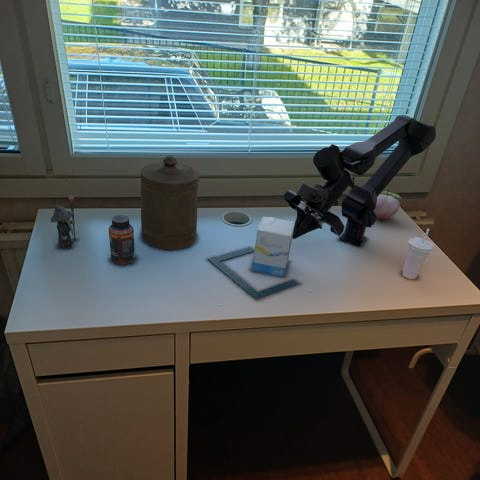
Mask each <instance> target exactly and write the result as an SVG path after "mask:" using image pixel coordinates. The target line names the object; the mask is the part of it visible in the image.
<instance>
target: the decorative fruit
mask: <svg viewBox="0 0 480 480" xmlns="http://www.w3.org/2000/svg"><path fill="white" fill-rule="evenodd" d="M400 201H403V199H402V197H401V196H400V195H399V194H398V193H395V192H390V189H388V190H387V191H385V190H383V191H382V192H381V193H380V194H379V196H378V197H377V203H376V208H375V209H374V213H375V215H376V216H377V219H378V220H387V219H389V218H392V217H393V216H395V215H396V214H397V213H398V211H399V209H400Z"/></svg>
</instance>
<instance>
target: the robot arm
mask: <svg viewBox="0 0 480 480" xmlns="http://www.w3.org/2000/svg"><path fill="white" fill-rule="evenodd" d="M436 137H437V132H436V128H435V126H433V125H431V124H428V123H425V122H422V121H419V120H417V119H415V118H414V117H411V116H409V115H405V114H398V115H397V116H396V117H395V118H394V120H393V121H392V122H390V123H389V124H387V125H385V126H384V127H383V128H382V129H380V130H379V131H377V132H376V133H375V134H373V135H372V136H371V137H369V138H368V139H366V140H363V141H355V142H354V143H352V144H349V145H347V146H346V147H345V148H344V149H342V150H341V149H340V147H339V146H338V145H336V144H334V143H331V144H330V145H329V146H327V147H326V146H325V147H323V148H321V149H320V150H317V151H316V152H315V153H314V155H313V157H312V163H313V165H314V166H315V168H316V170H317V172H318V173H319V175H320V177H321V178H322V179H323V182H322V183H321V184H319V183H317V184H315V185H314V186H312V185H309V184H307V183H305V182H303V181H301V183H300V185H299V187H298V188H297V190H296V191H294V190H293V189H288V190H286V191H285V192H284V193H283V195H282V196H281V197H282V198H283V199H284V201H285V202H286V204H287V205H288V206H289V207H290V208H291V209H292V210H294V211H296V217H295V221H294V222H295V226H294V231H293V237H292V240H296V239H298V238H300V237H301V236H304V235H306V234H308V233H310V232H314V231H315V230H318V229H319V230H322V229H323V225H324V224H326V225H328V226H329V227H330V229H329V230H330V232H331V233H332V234H335V235H336V236H337V237H339V238H338V239H339V241H341V242H344V243H347V244H351V245H354V246H357V247H361V246H363V245H362V244H364V242H365V241H366V239H367V236H366V235H365V233H366V229H367V228H372V226H374V225H375V224H376V222H377V219H378V218H377V216H376V215H375V213H374V209H375V208H376V203H377V197H378V196H379V194H380V193H381V192H382V191H385V188H387V187H388V185H389V184H390V183H391V181H393V179H394V178H395V177H396V175H397V174H398V173H399V172H400V171H401V169H402V168H403V167H404V166H405V165H406V164H407V162H408V161H409V160H410V159H411V158H412V157H414V156H416V155H419V154H421V153H423V152H424V151H425V150H427V148H429V147H430V146H431V145H432V144H433V142H434V141H435V139H436ZM396 143H397V145H396V146H395V148H394V149H393V150H392V151H391V153H390V154H389V155H388V156H387V157H386V158H385V159H384V161H383V162H382V163H381V164H380V165H379V167H378V168H377V169H376V170H375V172H373V174H372V175H371V176H370V178H369V179H368V180H367V181H366V182H365V183H364V184H363V185H360V186H359V185H357V184H355V179H356V178H355V176H353V175H351V174H350V173H352V174H356V175H357V176H363V175H365V174H366V173H367V172H368V171H369V170H370V169H371V168H372V167H373V166H374V165H375V162H376V159H377V158H378V157H379V156H380V155H381V154H383V153H384V152H386V151H387V150H388V149H390V148H391V147H393V146H394V145H395V144H396ZM348 187H349V188H351V189H350V190H349V191H348V192H347V193H345V191H346V190H347V189H348ZM344 193H345V196H344V198H343V199H342V201H341V217H344V218H346V219H347V220H346V224H344V222H343V221H342V219H341V218H340V216H338V215H336V213H333V212H332V211H330V210H331V209H332V207H333V206H335V207H337V206H338V205H339V201H338V200H339V198H340V197H342V195H343V194H344Z"/></svg>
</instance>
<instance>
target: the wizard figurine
mask: <svg viewBox="0 0 480 480" xmlns="http://www.w3.org/2000/svg"><path fill="white" fill-rule="evenodd" d="M68 200H69V201H70V203H69V205H70V210H67V209H66V208H65V207H64V206H61V205H54V206H52V208H53V209H54V211H53V215H52V216H51V218H50V220H49V221H50V222H51V223H56V230H57V240H58V241H57V242H58V247H59V248H63V249H67V250H68V249H71V248H72V245H73V240H72V237H71V235H72V236H73V237H74V238H73V239H74V240H76V227H75V224H76V220H75V211H74V200H75V197H74V196H73V195H72V194H70V195H69V196H68ZM70 232H71V234H70Z"/></svg>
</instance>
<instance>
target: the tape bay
mask: <svg viewBox="0 0 480 480" xmlns="http://www.w3.org/2000/svg"><path fill="white" fill-rule="evenodd" d="M250 253H254V250H253V249H252V248H250V247H247V248H243V249H240V250H236V251H232V252H230V253H226V254H222V255H219V256H216V257H212V258H209V259H207V260H208V261H209V262H210V263H211V264H212V265H214V267H216V268H217V269H218V270H219V271H221V272H222V273H223V274H224V275H225V276H227V277H228V278H229V279H231V280H232V281H233V282H234V283H235V284H236V285H238V286H239V287H240V288H241V289H242V290H244V291H245V292H246V293H247V294H248V295H250V296H251V298H253V299H255V300H259V299H261V298H264V297H267V296H271V295H273V294H275V293H278V292H280V291H283V290H286V289H289V288H292V287H294V286H297V285H299V283H298V282H297V281H296V280H295V279H291V280H288V281H286V282H285V281H284V282H282V283H279V284H277V285H274V286H270V287H268V288H265V289H263V290H260V291H257V290H255V289H254V288H253V287H252V286H251V285H249V284H248V283H247V282H245V281H244V280H243V279H242V278H241V277H239V276H238V275H237V274H236V273H235V272H233V271H232V270H231V269H230V268H228V267H227V266H226V265H225V264H223V263H222V262H223V261H226V260H229V259H230V260H231V259H235V258H237V257H240V256H244V255H246V254H250Z"/></svg>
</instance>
